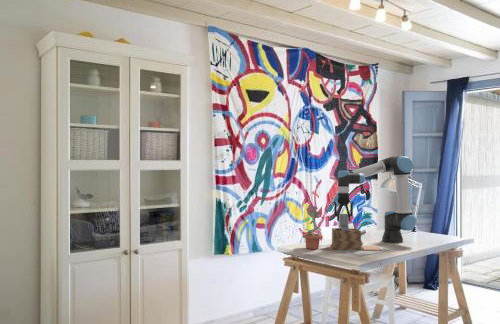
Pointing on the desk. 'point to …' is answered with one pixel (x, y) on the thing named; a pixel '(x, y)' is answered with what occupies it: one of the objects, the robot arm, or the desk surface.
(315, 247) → the decorative flower
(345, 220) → the grey tall block
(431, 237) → the desk surface
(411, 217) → the robot arm
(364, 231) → the door handle
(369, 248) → the tile
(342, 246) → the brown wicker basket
